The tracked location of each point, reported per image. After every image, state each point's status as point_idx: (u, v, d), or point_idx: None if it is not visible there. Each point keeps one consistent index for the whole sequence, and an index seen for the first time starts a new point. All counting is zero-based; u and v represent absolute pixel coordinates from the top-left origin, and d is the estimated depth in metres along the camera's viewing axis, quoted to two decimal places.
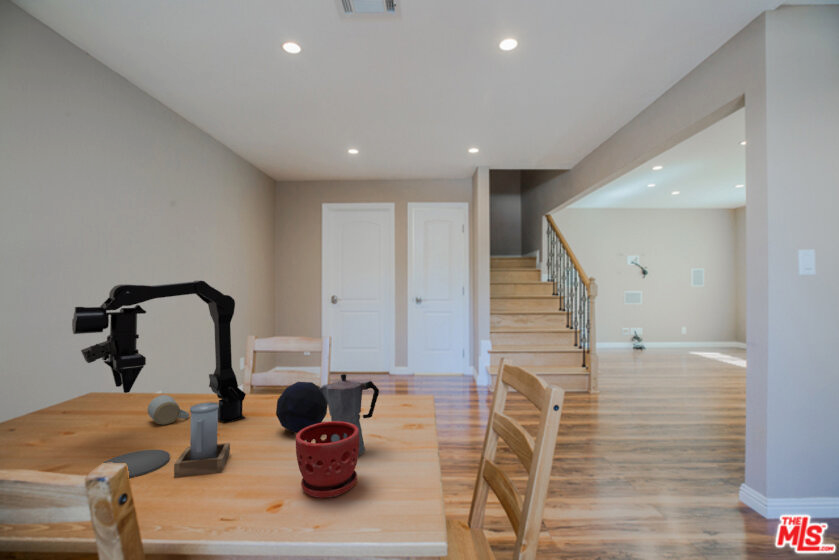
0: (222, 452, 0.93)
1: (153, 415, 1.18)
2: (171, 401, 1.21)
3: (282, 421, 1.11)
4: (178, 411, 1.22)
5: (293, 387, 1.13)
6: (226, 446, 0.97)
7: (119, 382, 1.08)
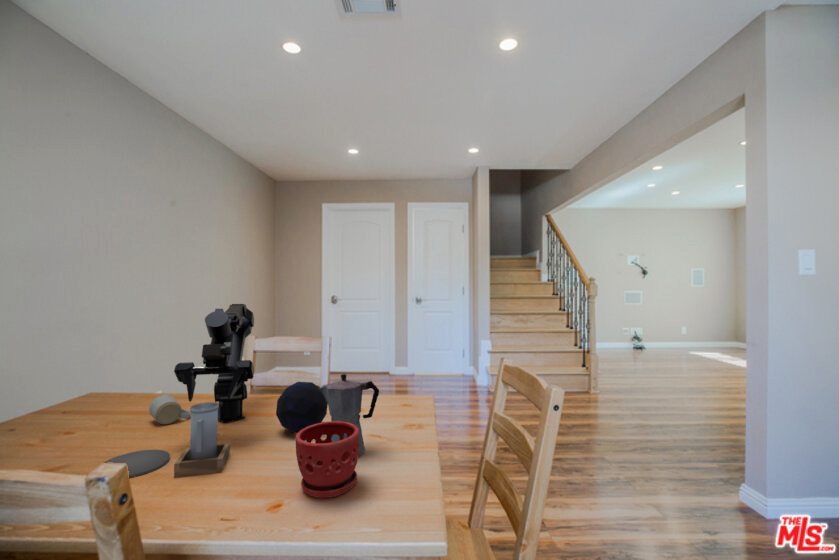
0: (222, 452, 0.93)
1: (155, 415, 1.18)
2: (173, 401, 1.21)
3: (282, 421, 1.11)
4: (180, 411, 1.22)
5: (293, 387, 1.13)
6: (226, 446, 0.97)
7: (191, 397, 1.00)
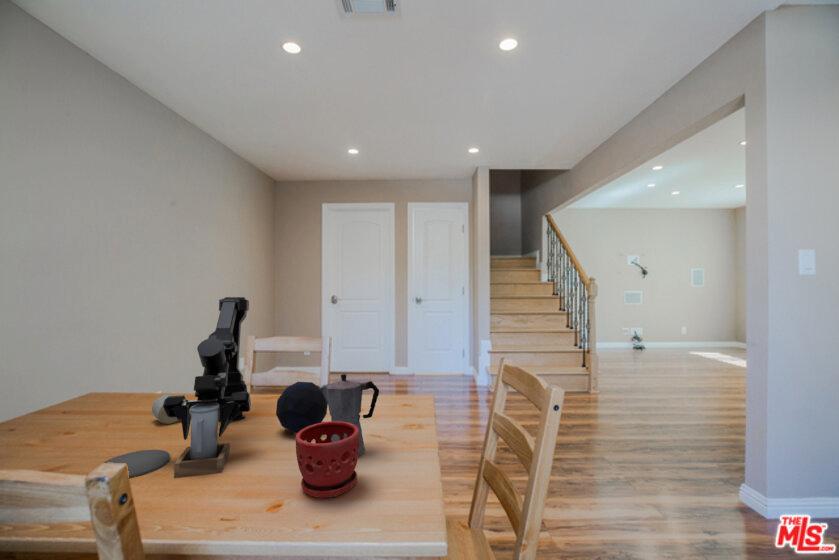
0: (222, 452, 0.93)
1: (157, 414, 1.18)
2: None
3: (282, 421, 1.11)
4: None
5: (293, 387, 1.13)
6: (226, 446, 0.97)
7: (187, 434, 0.92)
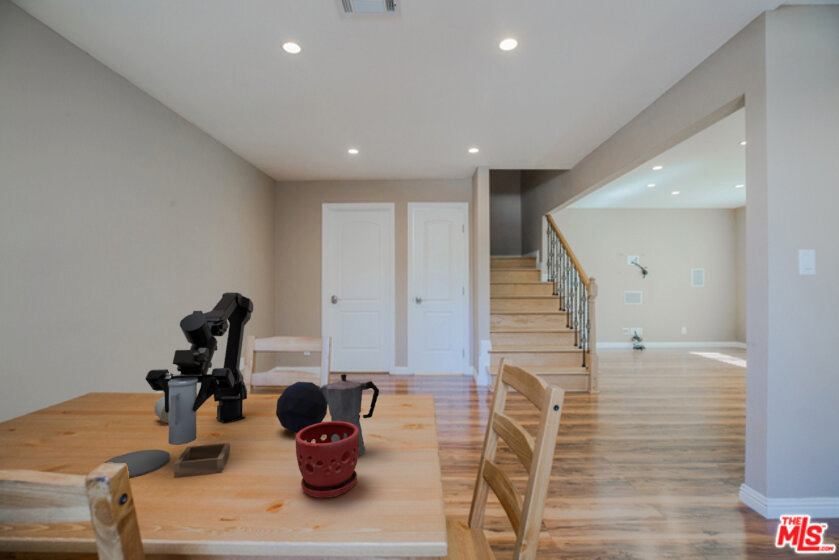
0: (222, 452, 0.93)
1: (160, 414, 1.19)
2: None
3: (282, 421, 1.11)
4: None
5: (293, 387, 1.13)
6: (226, 446, 0.97)
7: None
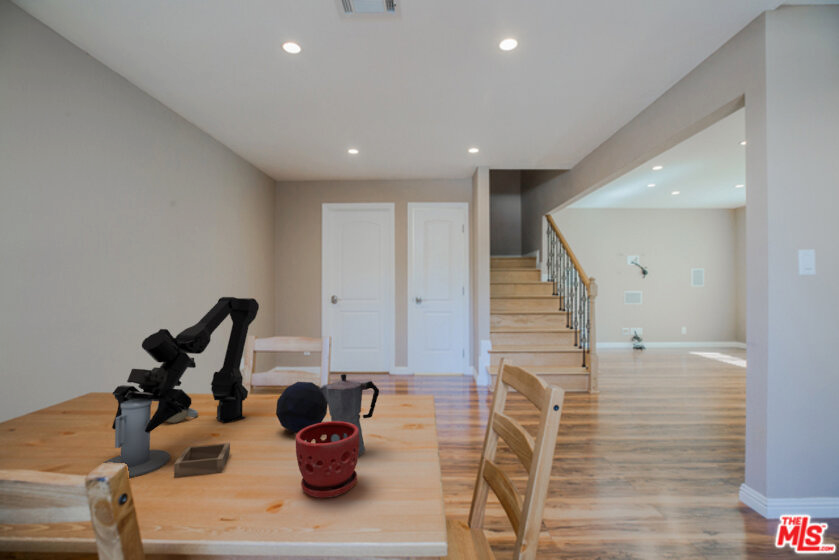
0: (222, 452, 0.93)
1: None
2: None
3: (282, 421, 1.11)
4: None
5: (293, 387, 1.13)
6: (226, 446, 0.97)
7: None
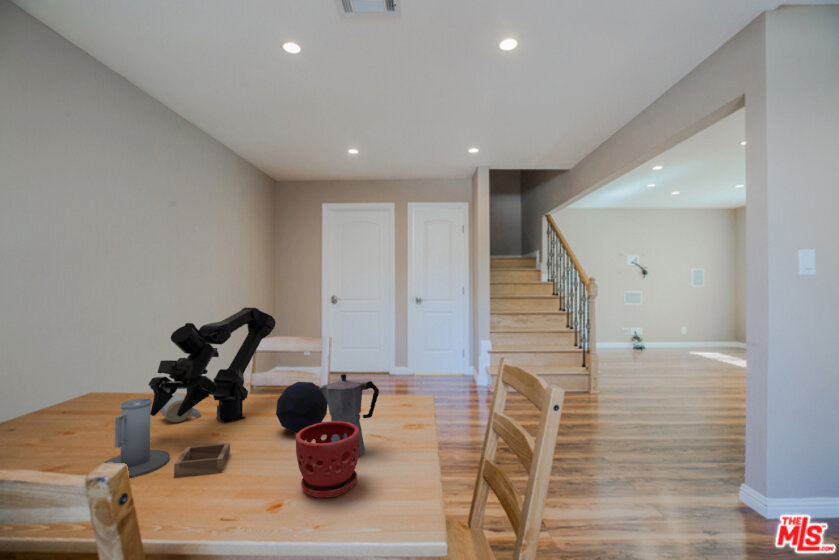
0: (222, 452, 0.93)
1: (166, 413, 1.20)
2: (183, 399, 1.23)
3: (282, 421, 1.11)
4: (190, 409, 1.24)
5: (293, 387, 1.13)
6: (226, 446, 0.97)
7: (155, 411, 1.03)
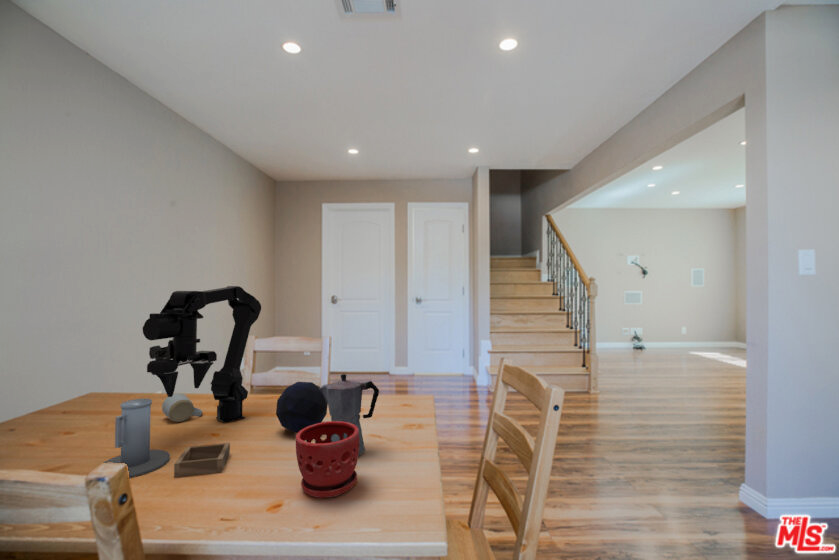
0: (222, 452, 0.93)
1: (168, 412, 1.20)
2: (185, 399, 1.24)
3: (282, 421, 1.11)
4: (192, 409, 1.24)
5: (293, 387, 1.13)
6: (226, 446, 0.97)
7: (196, 384, 1.13)
